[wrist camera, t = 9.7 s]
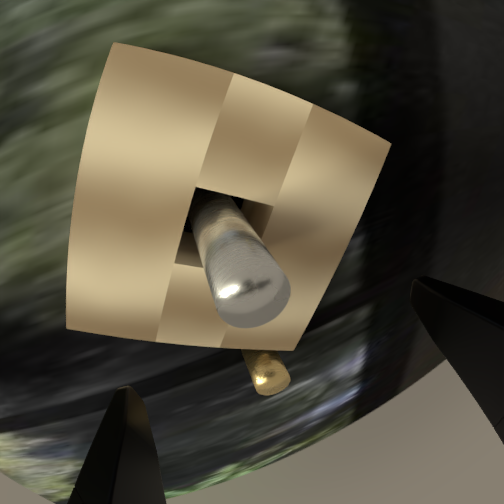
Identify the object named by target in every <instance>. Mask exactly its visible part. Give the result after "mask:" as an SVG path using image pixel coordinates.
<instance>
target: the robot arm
mask: <svg viewBox="0 0 504 504" xmlns="http://www.w3.org/2000/svg"><path fill="white" fill-rule="evenodd" d="M410 303H411V306H412V307H413V309H414V311H415V312H416V314H417V315H418V317H419V319H420V320H421V322H422V323H423V325H424V327H425V328H426V330H427V332H428V333H429V335H430V337H431V338H432V340H433V341H434V342H435V344H436V345H437V347H438V348H439V349H440V351H441V352H442V353H443V355H444V356H445V357H446V359H447V360H448V362H449V363H450V364H451V366H452V367H453V368H454V370H455V371H456V373H457V374H458V375H459V377H460V378H461V380H462V381H463V382H464V384H465V385H466V387H467V388H468V389H469V391H470V393H471V394H472V396H473V397H474V398H475V400H476V401H477V403H478V404H479V406H480V407H481V409H482V410H483V412H484V414H485V415H486V417H487V418H488V420H489V421H490V423H491V424H492V426H493V427H494V429H495V431H496V433H497V434H498V436H499V437H500V439H501V441H502V442H503V444H504V302H502V301H499V300H496V299H493V298H490V297H487V296H484V295H481V294H478V293H475V292H472V291H469V290H466V289H463V288H460V287H457V286H454V285H451V284H448V283H445V282H442V281H439V280H436V279H433V278H430V277H427V276H421V277H419V278H417V279H415V280H413V282H412V287H411V294H410ZM67 504H166V499H165V494H164V489H163V484H162V479H161V473H160V467H159V461H158V456H157V450H156V446H155V443H154V439H153V435H152V431H151V428H150V424H149V420H148V416H147V411H146V407H145V404H144V402H143V400H142V399H141V398H140V397H139V396H138V394H137V393H136V392H135V391H134V389H133V388H132V387H130V386H125V387H121V388H118V389H117V390H116V391H115V393H114V396H113V398H112V400H111V402H110V404H109V406H108V409H107V411H106V413H105V415H104V417H103V420H102V422H101V424H100V426H99V429H98V431H97V433H96V435H95V438H94V440H93V442H92V445H91V447H90V449H89V452H88V454H87V456H86V459H85V461H84V464H83V466H82V468H81V471H80V473H79V476H78V478H77V481H76V483H75V488H73V491H72V493H71V496H70V498H69V501H68V503H67Z"/></svg>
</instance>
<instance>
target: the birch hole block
mask: <svg viewBox="0 0 504 504" xmlns="http://www.w3.org/2000/svg"><path fill="white" fill-rule="evenodd" d="M390 146H391V143H390V142H388V141H386V140H384V139H382V138H381V137H379V136H377V135H375V134H373V133H371V132H369V131H368V130H366V129H364V128H362V127H360V126H358V125H356V124H354V123H352V122H350V121H348V120H346V119H344V118H342V117H340V116H338V115H336V114H334V113H332V112H330V111H327V110H325V109H323V108H321V107H319V106H317V105H314V104H312V103H310V102H308V101H305V100H303V99H301V98H298V97H296V96H294V95H291V94H289V93H286V92H284V91H281V90H279V89H276V88H274V87H271V86H269V85H266V84H263V83H261V82H258V81H255V80H252V79H250V78H247V77H244V76H241V75H238V74H235V73H232V72H229V71H226V70H223V69H220V68H217V67H214V66H210V65H207V64H204V63H200V62H197V61H193V60H190V59H186V58H182V57H179V56H175V55H171V54H167V53H163V52H159V51H154V50H150V49H145V48H141V47H136V46H131V45H126V44H120V43H115V42H113V45H112V48H111V50H110V53H109V56H108V59H107V62H106V65H105V68H104V71H103V74H102V77H101V80H100V84H99V87H98V90H97V94H96V97H95V101H94V105H93V108H92V112H91V116H90V120H89V124H88V128H87V132H86V137H85V141H84V146H83V151H82V156H81V161H80V166H79V172H78V177H77V183H76V190H75V196H74V203H73V211H72V219H71V228H70V238H69V250H68V265H67V287H66V329H72V330H77V331H83V332H89V333H95V334H102V335H108V336H115V337H122V338H129V339H137V340H145V341H154V342H162V343H172V344H182V345H193V346H205V347H219V348H235V349H255V350H285V351H293V350H294V349H295V347H296V345H297V343H298V341H299V340H300V338H301V336H302V334H303V332H304V330H305V329H306V327H307V325H308V323H309V321H310V319H311V317H312V315H313V314H314V312H315V310H316V308H317V306H318V304H319V302H320V300H321V298H322V296H323V294H324V292H325V290H326V288H327V286H328V285H329V283H330V281H331V279H332V277H333V274H334V272H335V270H336V268H337V266H338V264H339V262H340V260H341V258H342V256H343V254H344V252H345V250H346V248H347V246H348V243H349V241H350V239H351V237H352V235H353V233H354V230H355V228H356V226H357V224H358V222H359V219H360V217H361V215H362V213H363V211H364V208H365V206H366V204H367V201H368V199H369V197H370V195H371V192H372V190H373V187H374V185H375V183H376V180H377V178H378V176H379V173H380V171H381V168H382V166H383V163H384V161H385V158H386V156H387V153H388V151H389V148H390ZM195 187H199V188H203V189H207V190H211V191H216V192H220V193H224V194H228V195H232V196H236V197H240V198H244V201H243V204H242V207H241V210H240V211H241V212H242V213H243V215H244V216H245V218H246V219H247V221H248V222H249V223H250V225H251V226H252V228H253V229H254V231H255V232H256V233H257V235H258V236H259V238H260V239H261V241H262V242H263V243H264V245H265V246H266V248H267V249H268V251H269V252H270V253H271V255H272V256H273V258H274V259H275V261H276V262H277V263H278V265H279V266H280V268H281V269H282V271H283V272H284V274H285V275H286V276H287V278H288V280H289V282H290V287H291V293H290V298H289V301H288V303H287V305H286V307H285V308H284V309H283V311H282V312H281V313H280V314H279V315H278V316H277V317H276V318H274V319H273V320H271V321H270V322H268V323H266V324H264V325H261V326H258V327H254V328H237V327H234V326H231V325H229V324H227V323H226V322H224V321H223V320H222V319H221V317H220V316H219V314H218V312H217V309H216V306H215V303H214V300H213V297H212V294H211V290H210V287H209V284H208V281H207V278H206V274H205V271H204V268H203V265H202V261H201V258H200V255H199V251H198V248H197V245H196V241H195V238H194V234H193V233H190V232H185V231H183V228H184V225H185V221H186V218H187V214H188V211H189V207H190V204H191V200H192V197H193V194H194V190H195Z"/></svg>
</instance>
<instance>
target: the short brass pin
mask: <svg viewBox="0 0 504 504" xmlns="http://www.w3.org/2000/svg"><path fill="white" fill-rule="evenodd" d="M241 351H242V354H243V357H244V360H245V362H246V365H247V367H248V370H249V373H250V375H251V378H252V380H253V383H254V386H255V388H256V391H257V392H258V393H259V394H261V395H272V394H276V393H278V392H280V391H282V390H283V389H285V388H286V387H287V386H288V384H289V383H290V376H289V374H288V372H287V370H286V368H285V366H284V364H283V362H282V360H281V358H280V356H279V354H278V352H277V350H255V349H241Z"/></svg>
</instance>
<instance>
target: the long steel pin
mask: <svg viewBox="0 0 504 504" xmlns="http://www.w3.org/2000/svg"><path fill="white" fill-rule="evenodd" d="M188 217H189V221H190V224H191V228H192V231H193V234H194V238H195V241H196V245H197V248H198V251H199V255H200V258H201V261H202V265H203V268H204V271H205V274H206V278H207V281H208V284H209V287H210V290H211V294H212V297H213V300H214V303H215V306H216V309H217V312H218V314H219V316H220V317H221V319H222V320H223V321H224V322H226V323H227V324H229V325H231V326H234V327H237V328H254V327H258V326H261V325H264V324H266V323H268V322H270V321H271V320H273V319H274V318H276V317H277V316H278V315H279V314H280V313H281V312H282V311H283V309H284V308H285V307H286V305H287V303H288V301H289V298H290V293H291V287H290V282H289V280H288V278H287V276H286V275H285V274H284V272H283V271H282V269H281V268H280V266H279V265H278V263H277V262H276V261H275V259H274V258H273V256H272V255H271V253H270V252H269V251H268V249H267V248H266V246H265V245H264V243H263V242H262V241H261V239H260V238H259V236H258V235H257V233H256V232H255V231H254V229H253V228H252V226H251V225H250V223H249V222H248V221H247V219H246V218H245V216H244V215H243V213H242V212H241V211H240V209H239V208H238V206H237V205H236V204H235V202H234V201H233V199H232V198H231V196H230V195H228V194H224V193H220V192H216V191H211V190H207V189H203V188H199V187H197V188H195V190H194V194H193V197H192V200H191V204H190V207H189V211H188Z"/></svg>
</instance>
